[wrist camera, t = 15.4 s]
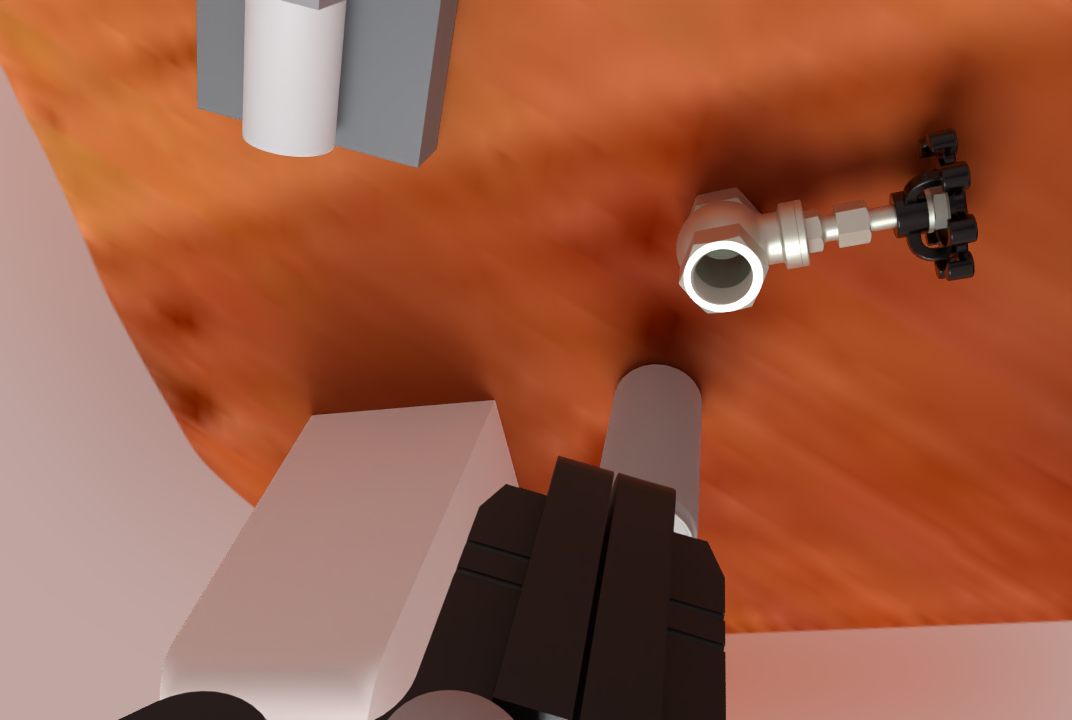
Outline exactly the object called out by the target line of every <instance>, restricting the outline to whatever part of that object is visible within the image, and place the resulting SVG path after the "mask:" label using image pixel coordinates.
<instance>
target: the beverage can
mask: <svg viewBox="0 0 1072 720" xmlns="http://www.w3.org/2000/svg"><path fill="white" fill-rule="evenodd" d="M701 416H702V399H701V394H700V391H699V389H698V387H697V386H696V384H695V382H694V381H693V380H692V379H691V378H690V377H689V376H688V375H687V374H685V373H684V372H682V371H680V370H678V369H677V368H673V367H670V366H667V365H657V364H652V365H646V366H641V367H639V368H637V369H634V370H632V371H631V372H629V373H628V374H627V375H625V376H624V377H623V378H622V380H621V381H620V382H619V384H618V385H617V388H616V391H615V395H614V400H613V405H612V410H611V415H610V420H609V425H608V430H607V435H606V440H605V445H604V450H603V455H602V460H601V465H600V468H603V469H607V470H610V471H614V478H613V484H614V481H615V478H616V476H617V474H618V473H622V474H625V475H629V476H632V477H636V478H639V479H643V480H646V481H650V482H653V483H657V484H660V485H664V486H667V487H671V488H674V489H675V490H676V506H675V521H674V532H676V533H679V534H683V535H686V536H690V537H693V538H696V539H697V533H698V509H699V478H700V447H701ZM613 484H612V486H613Z"/></svg>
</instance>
